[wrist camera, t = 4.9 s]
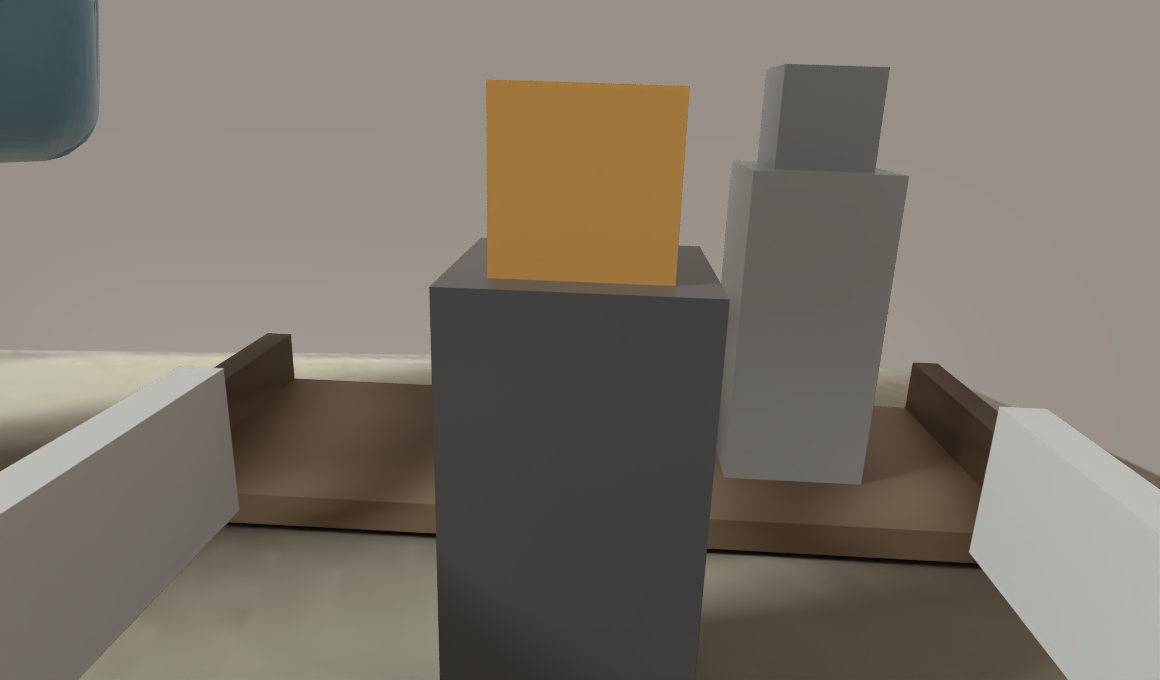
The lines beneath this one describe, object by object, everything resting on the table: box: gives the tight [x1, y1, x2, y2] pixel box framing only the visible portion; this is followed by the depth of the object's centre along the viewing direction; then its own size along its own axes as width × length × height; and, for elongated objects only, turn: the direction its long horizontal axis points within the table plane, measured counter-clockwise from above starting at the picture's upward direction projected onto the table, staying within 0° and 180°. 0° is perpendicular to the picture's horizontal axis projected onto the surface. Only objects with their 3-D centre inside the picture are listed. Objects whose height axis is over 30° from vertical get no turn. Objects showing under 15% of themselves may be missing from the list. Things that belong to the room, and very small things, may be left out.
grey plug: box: [716, 64, 909, 485], centre depth 25 cm, size 4×4×13 cm
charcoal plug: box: [429, 80, 730, 680], centre depth 15 cm, size 4×4×13 cm
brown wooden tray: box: [214, 333, 998, 563], centre depth 27 cm, size 28×10×3 cm, turn 87°
